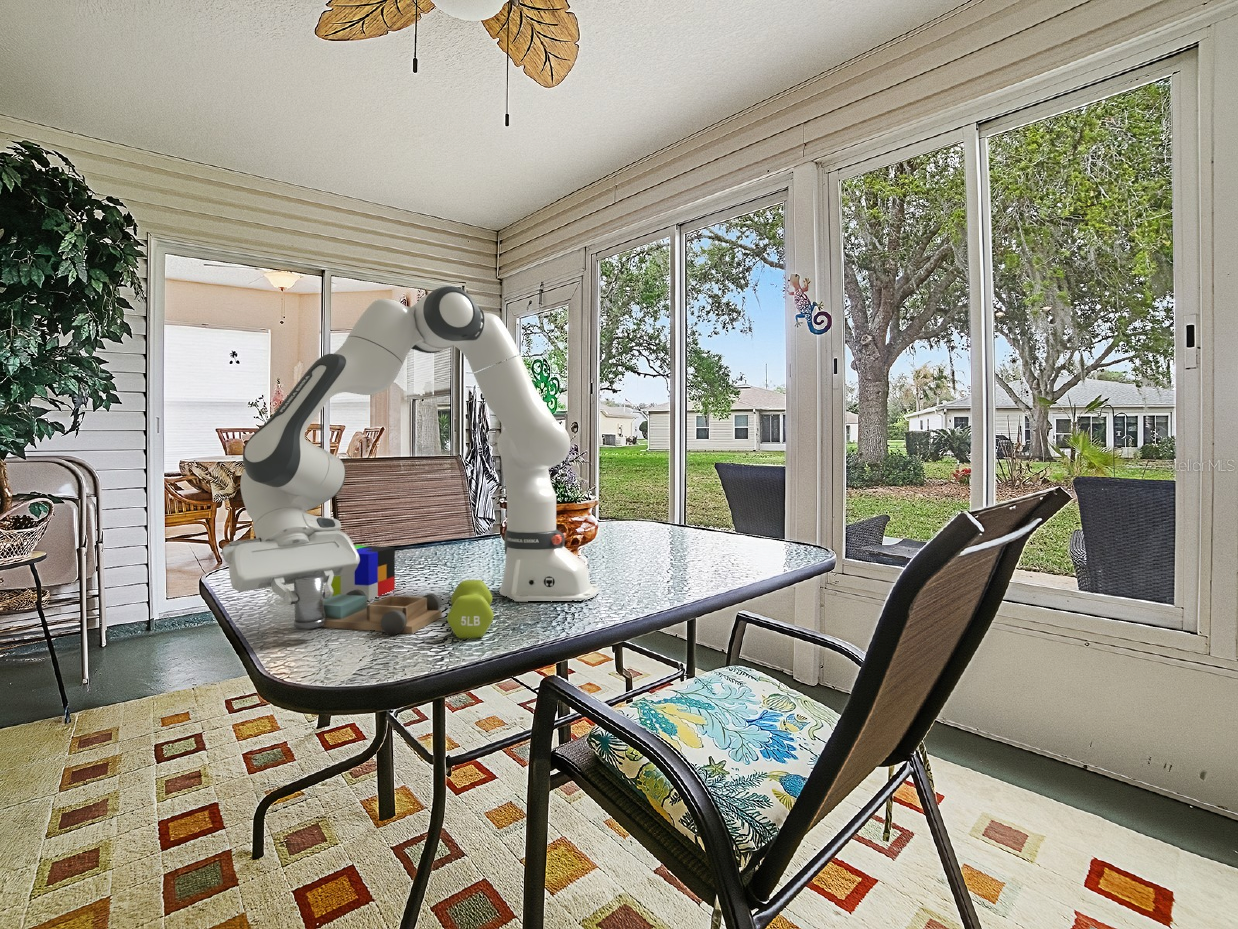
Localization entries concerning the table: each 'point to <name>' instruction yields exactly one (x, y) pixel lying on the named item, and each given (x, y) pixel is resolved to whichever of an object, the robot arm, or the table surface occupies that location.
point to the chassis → (381, 612)
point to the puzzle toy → (369, 573)
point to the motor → (309, 602)
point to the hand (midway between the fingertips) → (310, 599)
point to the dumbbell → (470, 609)
